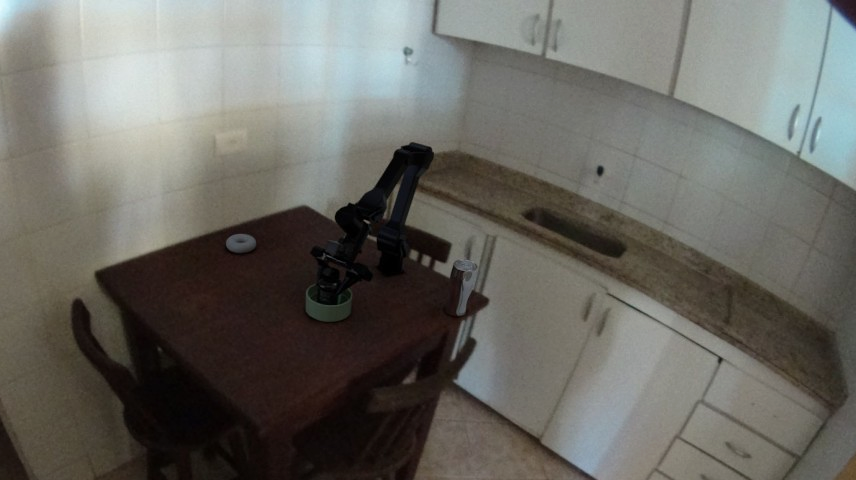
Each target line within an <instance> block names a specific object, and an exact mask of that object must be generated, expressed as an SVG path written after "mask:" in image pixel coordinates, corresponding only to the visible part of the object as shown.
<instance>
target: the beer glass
mask: <svg viewBox="0 0 856 480" xmlns="http://www.w3.org/2000/svg"><path fill="white" fill-rule="evenodd" d="M478 268H479V267H478V264H477V263H476V262H474V261H472V260H469V259H456V260H454V262H453V263H452V267H451V271H450V275H449V280H448V300H447V303H446V305H445V308H444V311H445V313H446V314H448V315H449V316H451V317H454V318H461V317H464V316H466V315H467V313H468V302H469V299H470V297H471V294H472V292H473V290H474V287H475V284H476V280H477V274H478Z"/></svg>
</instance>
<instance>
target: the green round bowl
mask: <svg viewBox="0 0 856 480" xmlns="http://www.w3.org/2000/svg"><path fill="white" fill-rule="evenodd" d="M317 290H318V287H317V286H316V283H314V284H311V285H310V286H309V287H308V288H307V289H306V291H305V300H304V302H305V303H304V304H305V305H304V309H305V312H306V313H307V315H308V316H309V317H312V318H313V319H315V320H317V321H321V322H324V323H325V322H326V323H327V322H328V323H334V322H339V321H343V320H344V319H346V318H348V317H349V316H350V315H351V313H352V310H353V309H352V307H353V299H354V298H353V296H354V294H353V292H352V290H351V289H350V287H349V288H348V289H347V290H345V291H344V292H343V293H342V298H341V304H339V305H322V304H319V303H317Z"/></svg>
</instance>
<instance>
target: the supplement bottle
mask: <svg viewBox="0 0 856 480" xmlns="http://www.w3.org/2000/svg"><path fill="white" fill-rule="evenodd" d="M340 277H341V276H340V270H339V268H335V267H331V266H330V267H329V268H325V269H323V270H322V278H320V279H319V281H318V290H317V303H319V304H322V305H339V304H341V298H342V293H341V294H340V295H339V296H338V295H336V293H337V290H338V288H339V287H340V285H341V283H342V281H343V280H342V279H341V278H340Z"/></svg>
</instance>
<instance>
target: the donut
mask: <svg viewBox="0 0 856 480" xmlns="http://www.w3.org/2000/svg"><path fill="white" fill-rule="evenodd" d="M225 246H226V248H227V249H228V250H229V251H230V252H232V253H236V254H247V253H250V252H252V251H254V250H255V249H256V247H257V241H256V239H255V237H253V236H252V235H250V234H248V233H236V234H233V235H230V236H229V237H228V238H227V239H226V241H225Z"/></svg>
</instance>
